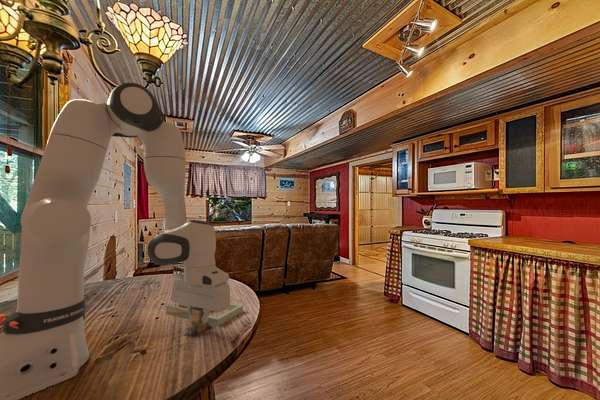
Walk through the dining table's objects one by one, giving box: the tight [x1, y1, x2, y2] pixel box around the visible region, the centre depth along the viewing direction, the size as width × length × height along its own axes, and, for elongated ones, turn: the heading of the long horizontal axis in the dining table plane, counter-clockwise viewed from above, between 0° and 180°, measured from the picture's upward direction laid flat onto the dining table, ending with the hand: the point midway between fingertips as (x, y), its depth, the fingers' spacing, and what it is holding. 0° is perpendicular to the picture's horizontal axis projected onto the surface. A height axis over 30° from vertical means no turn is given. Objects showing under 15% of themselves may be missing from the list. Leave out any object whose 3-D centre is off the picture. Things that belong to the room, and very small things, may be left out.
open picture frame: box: [208, 302, 244, 327], centre depth 87 cm, size 13×11×2 cm
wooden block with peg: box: [187, 307, 210, 336], centre depth 76 cm, size 7×3×6 cm, turn 156°
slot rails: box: [165, 304, 190, 320], centre depth 92 cm, size 12×12×3 cm
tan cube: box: [177, 303, 195, 308], centre depth 90 cm, size 4×4×4 cm
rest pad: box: [183, 324, 214, 339], centre depth 76 cm, size 8×4×1 cm, turn 156°
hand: (198, 321), depth 76 cm, fingers closed on wooden block with peg, 3 cm apart
